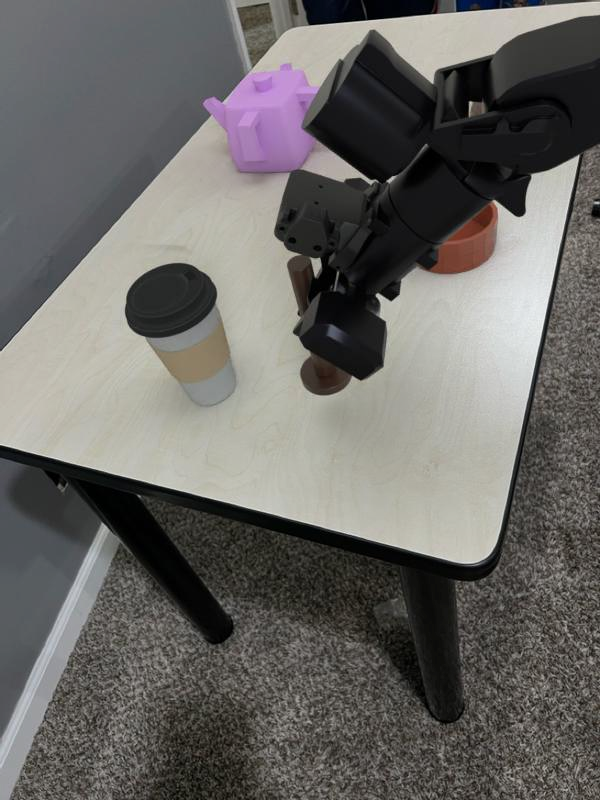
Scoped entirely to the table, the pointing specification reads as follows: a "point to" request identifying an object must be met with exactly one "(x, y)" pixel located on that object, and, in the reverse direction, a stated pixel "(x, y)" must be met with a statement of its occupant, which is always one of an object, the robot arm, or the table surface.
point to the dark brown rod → (314, 370)
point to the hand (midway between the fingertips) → (299, 325)
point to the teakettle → (267, 120)
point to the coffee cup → (184, 329)
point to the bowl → (469, 244)
